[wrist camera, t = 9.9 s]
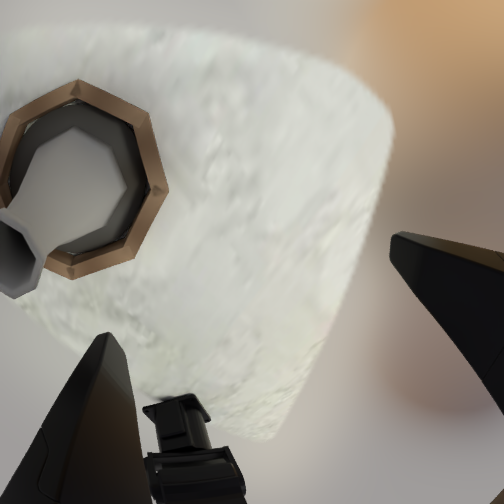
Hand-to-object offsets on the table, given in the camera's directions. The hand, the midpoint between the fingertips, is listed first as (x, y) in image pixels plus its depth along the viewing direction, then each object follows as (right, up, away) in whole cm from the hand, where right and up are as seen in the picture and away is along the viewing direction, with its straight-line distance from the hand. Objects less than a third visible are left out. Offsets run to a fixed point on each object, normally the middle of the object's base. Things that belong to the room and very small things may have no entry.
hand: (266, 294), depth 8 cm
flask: (-12, +5, +7) cm, 15 cm away
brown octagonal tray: (-12, +6, +8) cm, 15 cm away
